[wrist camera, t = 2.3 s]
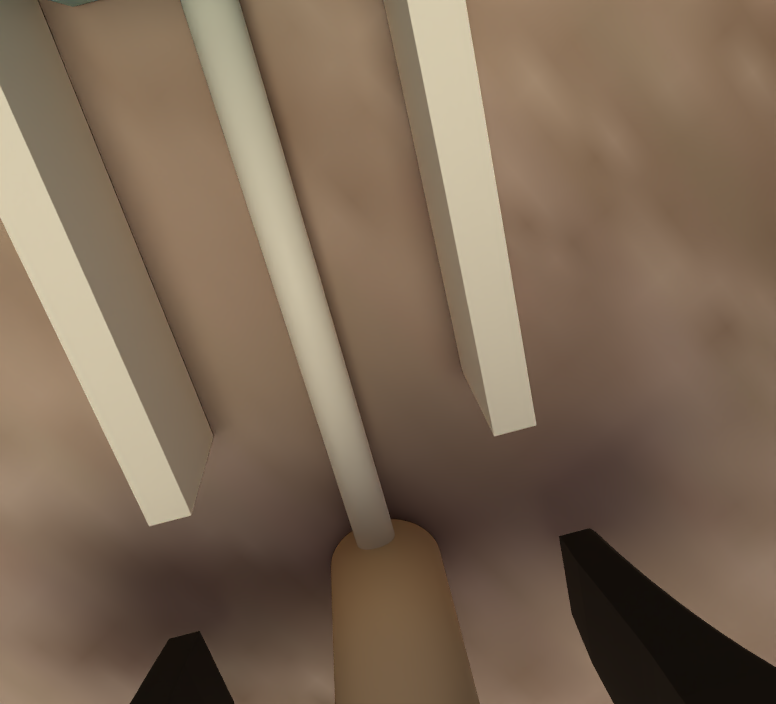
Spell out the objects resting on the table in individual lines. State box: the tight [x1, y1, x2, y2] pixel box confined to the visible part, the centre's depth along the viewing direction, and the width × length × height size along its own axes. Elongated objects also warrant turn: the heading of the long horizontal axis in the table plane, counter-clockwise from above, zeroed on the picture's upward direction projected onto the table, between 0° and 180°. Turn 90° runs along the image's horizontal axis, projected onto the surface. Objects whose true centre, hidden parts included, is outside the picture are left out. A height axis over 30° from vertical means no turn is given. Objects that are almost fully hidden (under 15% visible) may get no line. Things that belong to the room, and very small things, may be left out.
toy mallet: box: [50, 0, 480, 704], centre depth 9 cm, size 4×17×4 cm, turn 13°
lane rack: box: [0, 0, 536, 526], centre depth 9 cm, size 12×14×2 cm
